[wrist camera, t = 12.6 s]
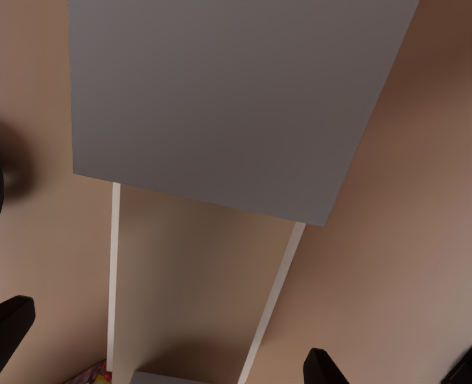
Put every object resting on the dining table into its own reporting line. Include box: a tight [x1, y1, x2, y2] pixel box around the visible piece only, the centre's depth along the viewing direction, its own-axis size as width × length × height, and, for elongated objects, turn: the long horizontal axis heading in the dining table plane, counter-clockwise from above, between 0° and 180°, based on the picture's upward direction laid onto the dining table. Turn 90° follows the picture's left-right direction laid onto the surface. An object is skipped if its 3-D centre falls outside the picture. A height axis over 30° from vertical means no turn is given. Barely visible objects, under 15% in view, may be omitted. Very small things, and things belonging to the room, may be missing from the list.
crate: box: [68, 0, 420, 227], centre depth 5 cm, size 4×4×4 cm
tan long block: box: [112, 184, 296, 384], centre depth 12 cm, size 6×24×5 cm, turn 167°
